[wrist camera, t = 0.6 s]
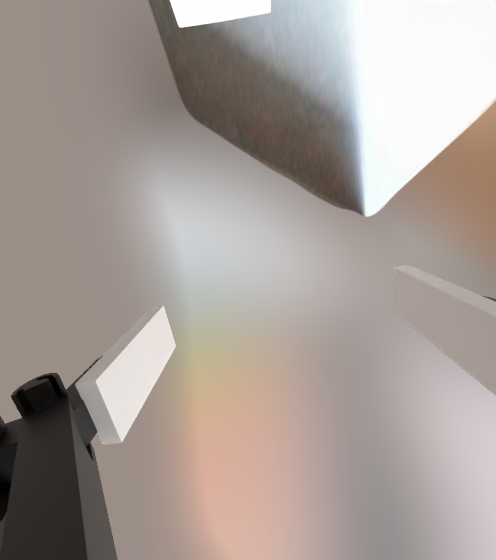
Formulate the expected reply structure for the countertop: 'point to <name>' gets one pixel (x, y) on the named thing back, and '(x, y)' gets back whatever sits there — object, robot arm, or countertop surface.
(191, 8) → the milk
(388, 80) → the countertop surface
